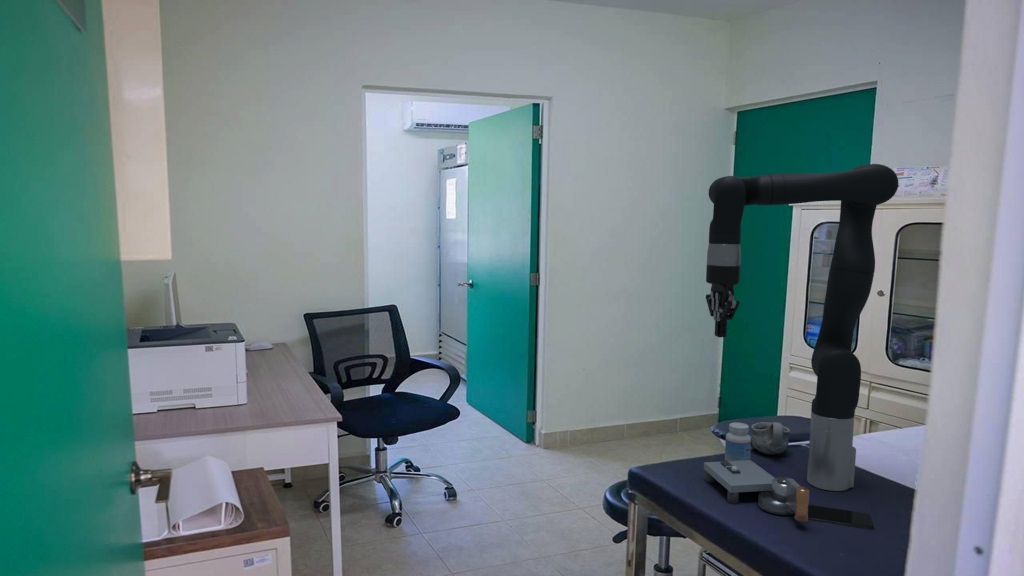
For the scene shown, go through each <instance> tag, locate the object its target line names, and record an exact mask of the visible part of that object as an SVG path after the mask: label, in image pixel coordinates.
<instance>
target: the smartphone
mask: <svg viewBox="0 0 1024 576" xmlns="http://www.w3.org/2000/svg"><path fill="white" fill-rule="evenodd" d="M809 520H810V521H813V522H814V521H815V522H821V523H826V524H834V525H839V526H840V525H841V526H847V527H852V528H856V529H857V528H859V529H863V530H871V531H872V530H876V524H875V522H874V518H873V516H872V515H871V514H870V513H867V512H861V511H855V510H848V509H842V508H834V507H829V506H821V505H814V504H809V506H808V521H809Z"/></svg>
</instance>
